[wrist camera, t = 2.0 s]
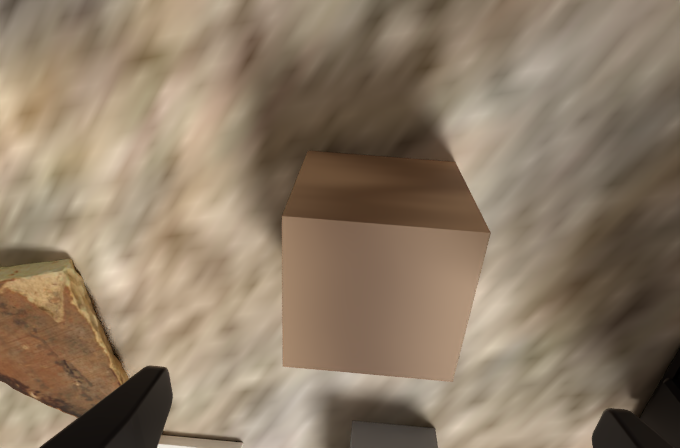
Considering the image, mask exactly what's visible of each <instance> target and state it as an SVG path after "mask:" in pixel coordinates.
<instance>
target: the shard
mask: <svg viewBox="0 0 680 448" xmlns="http://www.w3.org/2000/svg"><path fill="white" fill-rule="evenodd" d="M127 380H128V376H127V374H126V372H125V371H124V369H123V368H122V365H121V362H120V361H119V360H118V359H117V358H116V357H115V356H114V354H113V351H112V348H111V345H110V343H109V342H108V339H107V337H106V335H105V333H104V329H103V327H102V325H101V324H100V321H99V319H98V318H97V315H96V312H95V311H94V309H93V306H92V303H91V299H90V297H89V296H88V293H87V290H86V288H85V285H84V281H83V279H82V277H81V276H80V275H79V274H78V273H77V272H76V270H75V268H74V264H73V261H72V259H62V260H57V261H48V262H40V263H31V264H22V265H18V266H10V267H0V381H2V382H4V383H6V384H8V385H9V386H10V387H12V388H13V389H15V390H17V391H19V392H21V393H23V394H25V395H27V396H30V397H32V398H35V399H36V400H38V401H40V402H42V403H44V404H46V405H48V406H50V407H53V408H56V409H59V410H60V411H62V412H64V413H67V414H70V415H73V416H75V417H77V418H79V417H80V416H81V415H83V414H84V413H85V412H87V411H88V410H89V409H91V408H92V407H93V406H94V405H96V404H97V403H98V402H100V401H101V400H102V399H104V398H105V397H106V396H108V395H109V394H110V393H111V392H113V391H114V390H115V389H117V388H118V387H119V386H121V385H122V384H123V383H125V382H126V381H127Z"/></svg>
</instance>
